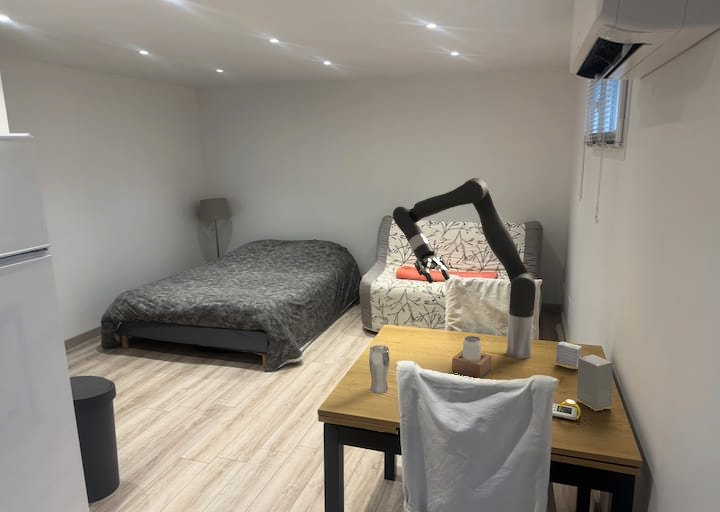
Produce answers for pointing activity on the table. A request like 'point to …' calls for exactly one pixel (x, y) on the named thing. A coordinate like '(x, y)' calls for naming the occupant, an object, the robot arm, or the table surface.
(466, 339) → the can
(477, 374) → the box
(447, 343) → the table surface
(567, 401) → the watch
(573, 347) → the medicine box
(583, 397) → the skincare box
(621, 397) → the table surface
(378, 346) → the beer glass
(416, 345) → the table surface
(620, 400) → the table surface
